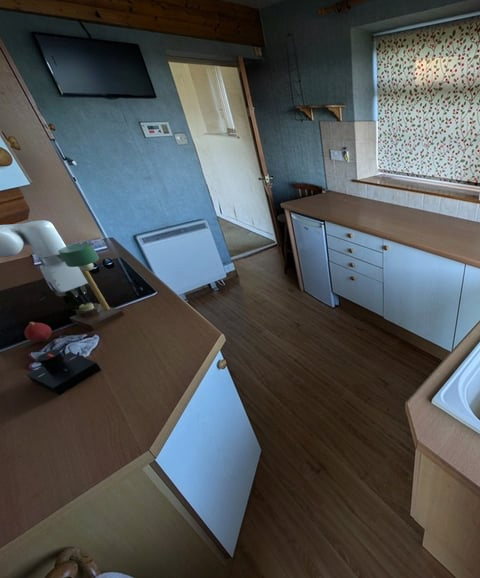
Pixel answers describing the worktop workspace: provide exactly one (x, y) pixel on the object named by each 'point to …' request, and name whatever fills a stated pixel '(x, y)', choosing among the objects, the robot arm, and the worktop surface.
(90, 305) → the lamp switch
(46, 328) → the onion
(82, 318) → the lamp base
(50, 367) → the dimmer knob
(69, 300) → the beer can
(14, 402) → the worktop surface
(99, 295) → the lamp
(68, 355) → the dimmer
